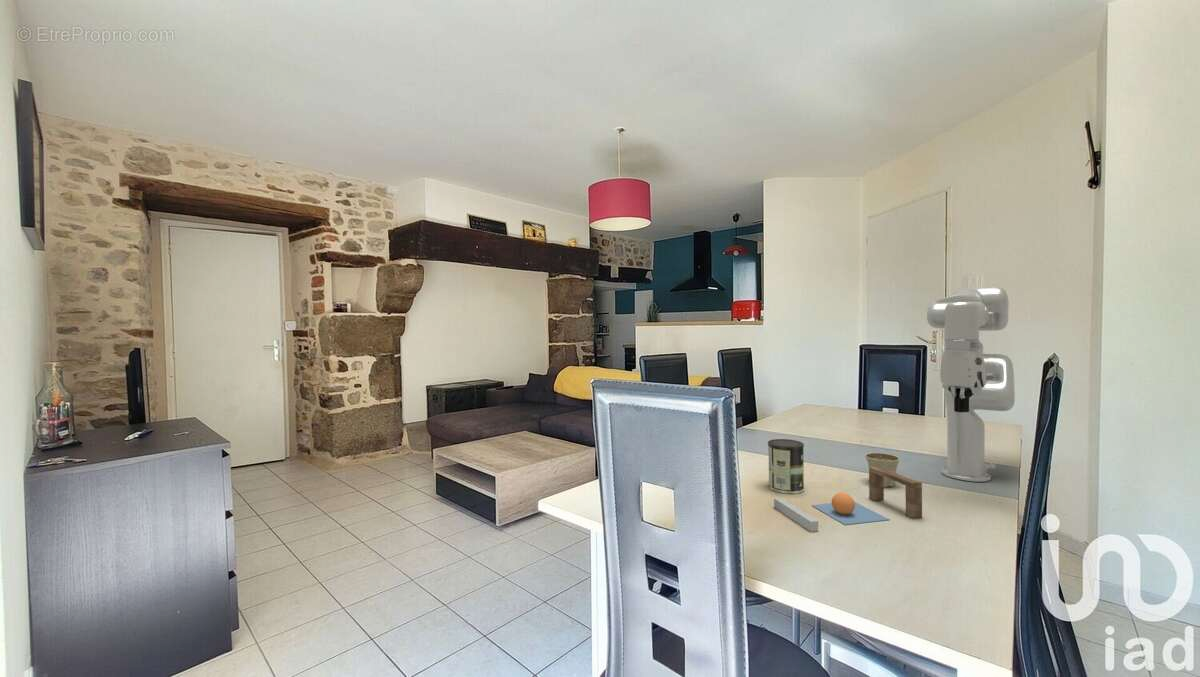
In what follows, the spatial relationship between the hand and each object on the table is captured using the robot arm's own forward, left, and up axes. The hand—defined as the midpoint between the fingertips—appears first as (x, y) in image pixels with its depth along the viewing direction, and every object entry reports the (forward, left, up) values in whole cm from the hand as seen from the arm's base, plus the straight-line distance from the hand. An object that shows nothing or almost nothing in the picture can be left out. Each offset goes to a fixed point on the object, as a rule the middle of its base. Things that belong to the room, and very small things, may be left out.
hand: (961, 411), depth 131 cm
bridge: (+22, 0, -25) cm, 33 cm away
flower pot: (+10, -17, -25) cm, 32 cm away
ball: (+38, 0, -22) cm, 44 cm away
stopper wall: (+52, 0, -25) cm, 58 cm away
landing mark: (+36, 0, -25) cm, 44 cm away
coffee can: (+41, -21, -25) cm, 53 cm away
